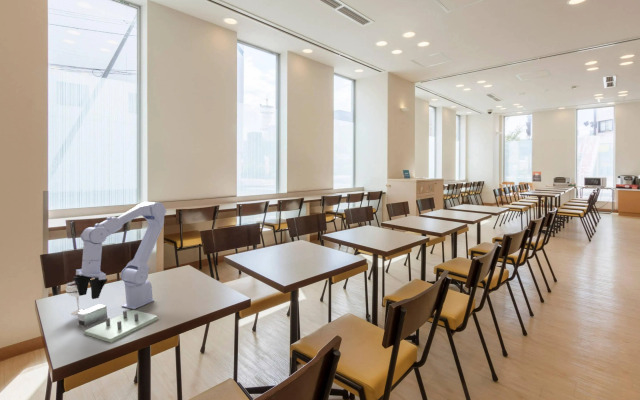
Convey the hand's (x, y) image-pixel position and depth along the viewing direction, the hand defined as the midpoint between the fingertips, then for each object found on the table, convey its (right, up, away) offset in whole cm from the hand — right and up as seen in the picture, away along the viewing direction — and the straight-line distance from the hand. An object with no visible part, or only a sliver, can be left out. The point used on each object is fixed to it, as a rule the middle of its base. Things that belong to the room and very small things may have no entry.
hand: (88, 296), depth 121 cm
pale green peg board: (+14, -10, -2) cm, 17 cm away
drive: (0, -10, +2) cm, 10 cm away
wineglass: (-11, -9, +10) cm, 18 cm away
